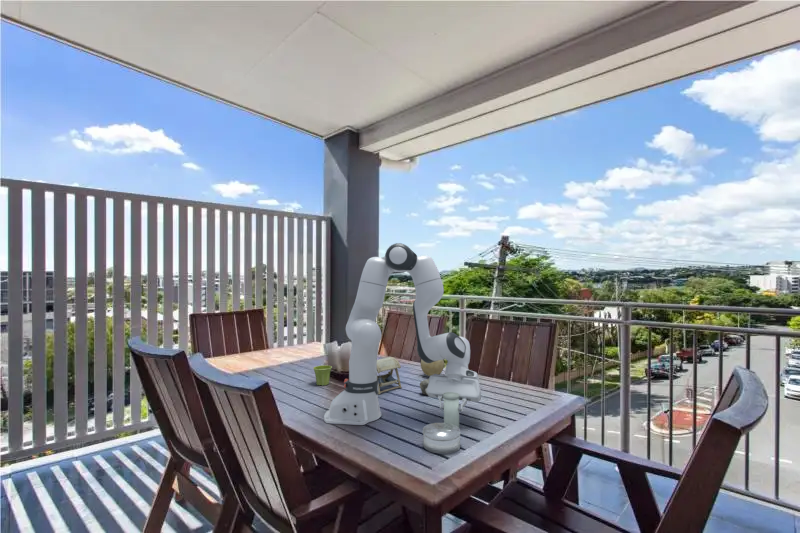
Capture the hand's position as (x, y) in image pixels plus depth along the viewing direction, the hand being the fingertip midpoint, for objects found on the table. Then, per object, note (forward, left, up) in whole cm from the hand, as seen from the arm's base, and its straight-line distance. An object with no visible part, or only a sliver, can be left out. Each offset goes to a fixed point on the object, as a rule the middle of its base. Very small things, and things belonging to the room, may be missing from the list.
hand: (450, 409), depth 136 cm
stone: (-2, +41, -7) cm, 41 cm away
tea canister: (0, +1, -7) cm, 7 cm away
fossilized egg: (+1, +69, -7) cm, 69 cm away
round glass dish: (-5, -13, -7) cm, 16 cm away
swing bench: (-25, +48, -7) cm, 54 cm away
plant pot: (-57, +59, -7) cm, 82 cm away
